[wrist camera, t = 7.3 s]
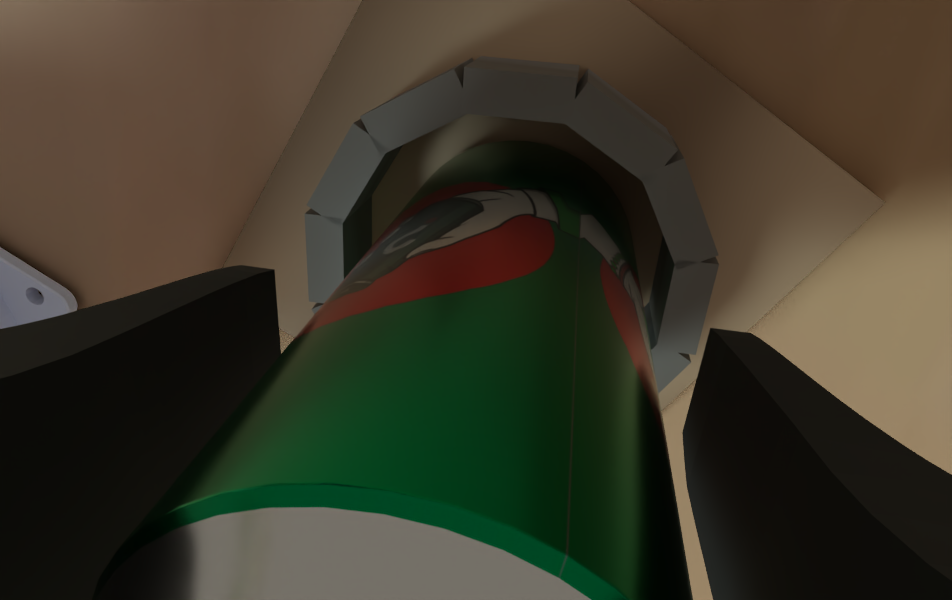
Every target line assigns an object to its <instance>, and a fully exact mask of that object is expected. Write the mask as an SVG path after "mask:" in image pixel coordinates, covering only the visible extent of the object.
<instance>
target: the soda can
mask: <svg viewBox="0 0 952 600" xmlns="http://www.w3.org/2000/svg"><path fill="white" fill-rule="evenodd" d="M92 600H693V598H692V592H691V586H690V580H689V574H688V568H687V562H686V556H685V550H684V544H683V538H682V532H681V526H680V520H679V514H678V508H677V502H676V496H675V490H674V484H673V478H672V472H671V466H670V460H669V454H668V448H667V442H666V436H665V430H664V424H663V418H662V412H661V406H660V400H659V394H658V388H657V382H656V376H655V370H654V364H653V359H652V353H651V347H650V341H649V335H648V329H647V323H646V317H645V311H644V305H643V299H642V293H641V287H640V281H639V275H638V269H637V263H636V257H635V251H634V245H633V239H632V234H631V230H630V225H629V221H628V218H627V216H626V213H625V211H624V209H623V206H622V204H621V202H620V200H619V199H618V197H617V196H616V194H615V193H614V191H613V190H612V188H611V187H610V185H609V184H608V183H607V182H606V181H605V180H604V179H603V178H602V177H601V176H600V174H599V173H598V172H596V171H595V170H594V169H592V168H591V167H590V166H589V165H587V164H586V163H585V162H584V161H582V160H580V159H579V158H577V157H575V156H573V155H571V154H570V153H568V152H566V151H563V150H560V149H558V148H555V147H552V146H550V145H546V144H541V143H536V142H531V141H511V140H509V141H501V142H493V143H488V144H484V145H481V146H478V147H474V148H471V149H469V150H467V151H465V152H463V153H461V154H459V155H457V156H455V157H453V158H452V159H451V160H449V161H448V162H446V163H445V164H444V165H442V166H441V167H440V168H439V169H438V170H437V171H436V172H435V173H434V174H433V175H432V176H431V177H430V178H429V179H428V180H427V181H426V182H425V183H424V184H423V186H422V187H421V188H420V189H419V190H418V192H417V193H416V194H415V195H414V196H413V198H412V199H411V200H410V201H409V202H408V203H407V205H406V206H405V207H404V208H403V209H402V211H401V212H400V213H399V214H398V215H397V217H396V218H395V219H394V220H393V221H392V223H391V224H390V225H389V226H388V227H387V229H386V230H385V231H384V232H383V233H382V235H381V236H380V237H379V238H378V239H377V240H376V242H375V243H374V244H373V245H372V246H371V248H370V249H369V250H368V251H367V252H366V254H365V255H364V256H363V257H362V258H361V260H360V261H359V262H358V263H357V264H356V266H355V267H354V268H353V269H352V270H351V272H350V273H349V274H348V275H347V276H346V277H345V279H344V280H343V281H342V282H341V283H340V285H339V286H338V287H337V288H336V289H335V291H334V292H333V293H332V294H331V295H330V297H329V298H328V299H327V300H326V301H325V303H324V304H323V305H322V306H321V307H320V309H319V310H318V311H317V312H316V313H315V314H314V316H313V317H312V318H311V319H310V320H309V322H308V323H307V324H306V325H305V326H304V328H303V329H302V330H301V331H300V332H299V334H298V335H297V336H296V337H295V338H294V340H293V341H292V342H291V343H290V344H289V345H288V347H287V348H286V349H285V350H284V351H283V353H282V354H281V355H280V356H279V357H278V359H277V360H276V361H275V362H274V363H273V365H272V366H271V367H270V368H269V369H268V371H267V372H266V373H265V374H264V375H263V377H262V378H261V379H260V380H259V381H258V382H257V384H256V385H255V386H254V387H253V388H252V390H251V391H250V392H249V393H248V394H247V396H246V397H245V398H244V399H243V400H242V402H241V403H240V404H239V405H238V406H237V408H236V409H235V410H234V411H233V412H232V414H231V415H230V416H229V417H228V418H227V419H226V421H225V422H224V423H223V424H222V425H221V427H220V428H219V429H218V430H217V431H216V433H215V434H214V435H213V436H212V437H211V439H210V440H209V441H208V442H207V443H206V445H205V446H204V447H203V448H202V449H201V451H200V452H199V453H198V454H197V455H196V456H195V458H194V459H193V460H192V461H191V462H190V464H189V465H188V466H187V467H186V468H185V470H184V471H183V472H182V473H181V474H180V476H179V477H178V478H177V479H176V480H175V482H174V483H173V484H172V485H171V486H170V487H169V489H168V490H167V491H166V492H165V493H164V495H163V496H162V497H161V498H160V499H159V501H158V502H157V503H156V504H155V505H154V507H153V508H152V509H151V510H150V511H149V513H148V514H147V515H146V516H145V517H144V519H143V520H142V521H141V522H140V523H139V524H138V526H137V527H136V528H135V529H134V530H133V532H132V533H131V534H130V535H129V536H128V538H127V539H126V540H125V541H124V542H123V544H122V545H121V546H120V547H119V548H118V550H117V551H116V553H115V554H114V556H113V557H112V559H111V560H110V562H109V563H108V565H107V566H106V568H105V570H104V571H103V573H102V574H101V576H100V577H99V579H98V582H97V585H96V588H95V592H94V595H93V598H92Z"/></svg>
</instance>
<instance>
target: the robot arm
mask: <svg viewBox="0 0 952 600" xmlns="http://www.w3.org/2000/svg"><path fill="white" fill-rule="evenodd" d="M37 289H38V290H39V291H40V292H41V293H42V295H43V296H41V295H40V294H39V292H38V290H37ZM77 306H78V305H77V302H76V299H75V297H74V296H73V294H72V293H71V292H70V291H69V290H67V289H66V288H65V287H63V286H61V285H60V284H58V283H57V282H55V281H54V280H52V279H50V278H49V277H47V276H46V275H44V274H42V273H41V272H39V271H38V270H36V269H34V268H33V267H31V266H30V265H28V264H26V263H25V262H23V261H22V260H20V259H18V258H17V257H15V256H14V255H12V254H10V253H9V252H7V251H6V250H4V249H2V248H1V247H0V600H92V598H93V595H94V592H95V588H96V585H97V582H98V579H99V577H100V576H101V574H102V573H103V571H104V570H105V568H106V566H107V565H108V563H109V562H110V560H111V559H112V557H113V556H114V554H115V553H116V551H117V550H118V548H119V547H120V546H121V545H122V544H123V542H124V541H125V540H126V539H127V538H128V536H129V535H130V534H131V533H132V532H133V530H134V529H135V528H136V527H137V526H138V524H139V523H140V522H141V521H142V520H143V519H144V517H145V516H146V515H147V514H148V513H149V511H150V510H151V509H152V508H153V507H154V505H155V504H156V503H157V502H158V501H159V499H160V498H161V497H162V496H163V495H164V493H165V492H166V491H167V490H168V489H169V487H170V486H171V485H172V484H173V483H174V482H175V480H176V479H177V478H178V477H179V476H180V474H181V473H182V472H183V471H184V470H185V468H186V467H187V466H188V465H189V464H190V462H191V461H192V460H193V459H194V458H195V456H196V455H197V454H198V453H199V452H200V451H201V449H202V448H203V447H204V446H205V445H206V443H207V442H208V441H209V440H210V439H211V437H212V436H213V435H214V434H215V433H216V431H217V430H218V429H219V428H220V427H221V425H222V424H223V423H224V422H225V421H226V419H227V418H228V417H229V416H230V415H231V414H232V412H233V411H234V410H235V409H236V408H237V406H238V405H239V404H240V403H241V402H242V400H243V399H244V398H245V397H246V396H247V394H248V393H249V392H250V391H251V390H252V388H253V387H254V386H255V385H256V384H257V382H258V381H259V380H260V379H261V378H262V377H263V375H264V374H265V373H266V372H267V371H268V369H269V368H270V367H271V366H272V365H273V363H274V362H275V361H276V360H277V359H278V357H279V356H280V355H281V349H280V336H279V322H278V309H277V295H276V282H275V269H267V268H260V267H252V266H245V265H237V266H231V267H225V268H221V269H217V270H213V271H209V272H205V273H202V274H198V275H195V276H192V277H188V278H185V279H182V280H179V281H175V282H172V283H169V284H166V285H162V286H159V287H156V288H153V289H150V290H146V291H143V292H140V293H137V294H133V295H130V296H127V297H124V298H120V299H117V300H113V301H109V302H106V303H102V304H99V305H95V306H92V307H88V308H85V309H81V310H77ZM683 446H684V460H685V471H686V481H687V489H688V493H689V498H690V502H691V507H692V511H693V516H694V520H695V524H696V529H697V533H698V537H699V541H700V546H701V550H702V554H703V558H704V562H705V567H706V571H707V575H708V579H709V584H710V588H711V592H712V596H713V600H952V475H951V474H949V473H947V472H946V471H944V470H942V469H941V468H939V467H937V466H936V465H934V464H932V463H931V462H929V461H927V460H926V459H924V458H923V457H921V456H919V455H918V454H916V453H915V452H913V451H912V450H910V449H908V448H907V447H905V446H904V445H902V444H901V443H899V442H898V441H896V440H895V439H894V438H892V437H891V436H889V435H888V434H886V433H885V432H883V431H882V430H881V429H879V428H878V427H876V426H875V425H873V424H872V423H870V422H869V421H868V420H866V419H865V418H863V417H862V416H861V415H859V414H858V413H856V412H855V411H854V410H852V409H851V408H850V407H848V406H847V405H846V404H844V403H843V402H842V401H840V400H839V399H838V398H836V397H835V396H834V395H832V394H831V393H830V392H828V391H827V390H826V389H825V388H823V387H822V386H821V385H819V384H818V383H817V382H816V381H814V380H813V379H812V378H810V377H809V376H808V375H807V374H805V373H804V372H803V371H802V370H800V369H799V368H798V367H797V366H795V365H794V364H793V363H791V362H790V361H789V360H788V359H786V358H785V357H784V356H783V355H781V354H780V353H779V352H777V351H776V350H775V349H773V348H772V347H771V346H769V345H768V344H767V343H765V342H764V341H762V340H761V339H760V338H758V337H756V336H755V335H753V334H751V333H746V332H739V331H731V330H724V329H716V328H710V331H709V335H708V338H707V342H706V346H705V350H704V353H703V357H702V361H701V365H700V369H699V372H698V376H697V380H696V384H695V387H694V391H693V395H692V399H691V403H690V406H689V410H688V414H687V418H686V421H685V425H684V429H683Z"/></svg>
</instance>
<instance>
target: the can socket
mask: <svg viewBox="0 0 952 600" xmlns="http://www.w3.org/2000/svg"><path fill="white" fill-rule="evenodd" d="M509 140H511V141H531V142H536V143H541V144H546V145H550V146H552V147H555V148H558V149H560V150H563V151H566V152H568V153H570V154H571V155H573V156H575V157H577V158H579V159H580V160H582V161H584V162H585V163H586V164H587V165H589V166H590V167H591V168H592V169H594V170H595V171H596V172H598V173H599V174H600V176H601V177H602V178H603V179H604V180H605V181H606V182H607V183H608V184H609V185H610V187H611V188H612V190H613V191H614V193H615V194H616V196H617V197H618V199H619V200H620V202H621V204H622V206H623V209H624V211H625V213H626V216H627V218H628V221H629V225H630V230H631V234H632V239H633V245H634V251H635V257H636V263H637V269H638V275H639V281H640V287H641V293H642V299H643V305H644V311H645V317H646V323H647V329H648V335H649V341H650V347H651V353H652V359H653V364H654V370H655V376H656V382H657V388H658V394H659V400H660V406H661V411H662V410H663V409H664V408H665V407H666V406H667V405H668V404H669V403H671V402H672V401H673V400H674V399H675V398H676V397H677V396H678V395H679V394H680V393H681V392H682V391H683V390H685V389H686V388H687V387H688V386H689V385H690V384H691V383H692V382H693V381H694V380H695V379H696V378H697V376H698V372H699V369H700V365H701V361H702V357H703V353H704V350H705V346H706V342H707V338H708V335H709V331H710V328H716V329H724V330H731V331H739V332H747V331H748V330H749V329H750V328H751V327H752V326H753V325H754V324H755V323H757V322H758V321H759V320H760V319H761V318H762V317H763V316H764V315H765V314H766V313H767V312H768V311H769V310H771V309H772V308H773V307H774V306H775V305H776V304H777V303H778V302H779V301H780V300H781V299H782V298H783V297H785V296H786V295H787V294H788V293H789V292H790V291H791V290H792V289H793V288H794V287H795V286H796V285H797V284H799V283H800V282H801V281H802V280H803V279H804V278H805V277H806V276H807V275H808V274H809V273H810V272H811V271H812V270H814V269H815V268H816V267H817V266H818V265H819V264H820V263H821V262H822V261H823V260H824V259H825V258H826V257H828V256H829V255H830V254H831V253H832V252H833V251H834V250H835V249H836V248H837V247H838V246H839V245H840V244H842V243H843V242H844V241H845V240H846V239H847V238H848V237H849V236H850V235H851V234H852V233H853V232H854V231H856V230H857V229H858V228H859V227H860V226H861V225H862V224H863V223H864V222H865V221H866V220H867V219H868V218H869V217H871V216H872V215H873V214H874V213H875V212H876V211H877V210H878V209H879V208H880V207H881V206H882V205H883V204H885V202H884V201H883V200H882V199H880V198H879V197H878V196H876V195H875V194H874V193H873V192H871V191H870V190H869V189H868V188H866V187H865V186H864V185H862V184H861V183H860V182H859V181H857V180H856V179H855V178H854V177H852V176H851V175H850V174H848V173H847V172H846V171H845V170H843V169H842V168H841V167H840V166H838V165H837V164H836V163H834V162H833V161H832V160H831V159H829V158H828V157H827V156H826V155H824V154H823V153H822V152H821V151H819V150H818V149H817V148H815V147H814V146H813V145H812V144H810V143H809V142H808V141H807V140H805V139H804V138H803V137H801V136H800V135H799V134H798V133H796V132H795V131H794V130H793V129H791V128H790V127H789V126H787V125H786V124H785V123H784V122H782V121H781V120H780V119H779V118H777V117H776V116H775V115H773V114H772V113H771V112H770V111H768V110H767V109H766V108H765V107H763V106H762V105H761V104H760V103H758V102H757V101H756V100H754V99H753V98H752V97H751V96H749V95H748V94H747V93H746V92H744V91H743V90H742V89H740V88H739V87H738V86H737V85H735V84H734V83H733V82H732V81H730V80H729V79H728V78H726V77H725V76H724V75H723V74H721V73H720V72H719V71H718V70H716V69H715V68H714V67H712V66H711V65H710V64H709V63H707V62H706V61H705V60H704V59H702V58H701V57H700V56H698V55H697V54H696V53H695V52H693V51H692V50H691V49H690V48H688V47H687V46H686V45H685V44H683V43H682V42H681V41H679V40H678V39H677V38H676V37H674V36H673V35H672V34H671V33H669V32H668V31H667V30H665V29H664V28H663V27H662V26H660V25H659V24H658V23H657V22H655V21H654V20H653V19H651V18H650V17H649V16H648V15H646V14H645V13H644V12H643V11H641V10H640V9H639V8H637V7H636V6H635V5H634V4H632V3H631V2H630V1H629V0H362V2H361V4H360V6H359V8H358V10H357V12H356V14H355V16H354V18H353V19H352V21H351V23H350V25H349V27H348V29H347V31H346V33H345V35H344V37H343V39H342V40H341V42H340V44H339V46H338V48H337V50H336V52H335V54H334V56H333V58H332V60H331V62H330V63H329V65H328V67H327V69H326V71H325V73H324V75H323V77H322V79H321V81H320V83H319V84H318V86H317V88H316V90H315V92H314V94H313V96H312V98H311V100H310V102H309V104H308V105H307V107H306V109H305V111H304V113H303V115H302V117H301V119H300V121H299V123H298V125H297V126H296V128H295V130H294V132H293V134H292V136H291V138H290V140H289V142H288V144H287V146H286V147H285V149H284V151H283V153H282V155H281V157H280V159H279V161H278V163H277V165H276V167H275V168H274V170H273V172H272V174H271V176H270V178H269V180H268V182H267V184H266V186H265V188H264V189H263V191H262V193H261V195H260V197H259V199H258V201H257V203H256V205H255V207H254V209H253V210H252V212H251V214H250V216H249V218H248V220H247V222H246V224H245V226H244V228H243V230H242V231H241V233H240V235H239V237H238V239H237V241H236V243H235V245H234V247H233V249H232V251H231V253H230V254H229V256H228V258H227V260H226V262H225V264H224V266H223V268H225V267H231V266H237V265H245V266H252V267H260V268H267V269H275V282H276V295H277V309H278V322H279V328H280V329H281V330H283V331H285V332H286V333H288V334H289V335H291V336H292V337H294V338H295V337H296V336H297V335H298V334H299V332H300V331H301V330H302V329H303V328H304V326H305V325H306V324H307V323H308V322H309V320H310V319H311V318H312V317H313V316H314V314H315V313H316V312H317V311H318V310H319V309H320V307H321V306H322V305H323V304H324V303H325V301H326V300H327V299H328V298H329V297H330V295H331V294H332V293H333V292H334V291H335V289H336V288H337V287H338V286H339V285H340V283H341V282H342V281H343V280H344V279H345V277H346V276H347V275H348V274H349V273H350V272H351V270H352V269H353V268H354V267H355V266H356V264H357V263H358V262H359V261H360V260H361V258H362V257H363V256H364V255H365V254H366V252H367V251H368V250H369V249H370V248H371V246H372V245H373V244H374V243H375V242H376V240H377V239H378V238H379V237H380V236H381V235H382V233H383V232H384V231H385V230H386V229H387V227H388V226H389V225H390V224H391V223H392V221H393V220H394V219H395V218H396V217H397V215H398V214H399V213H400V212H401V211H402V209H403V208H404V207H405V206H406V205H407V203H408V202H409V201H410V200H411V199H412V198H413V196H414V195H415V194H416V193H417V192H418V190H419V189H420V188H421V187H422V186H423V184H424V183H425V182H426V181H427V180H428V179H429V178H430V177H431V176H432V175H433V174H434V173H435V172H436V171H437V170H438V169H439V168H440V167H441V166H442V165H444V164H445V163H446V162H448V161H449V160H451V159H452V158H453V157H455V156H457V155H459V154H461V153H463V152H465V151H467V150H469V149H471V148H474V147H478V146H481V145H484V144H488V143H493V142H501V141H509Z"/></svg>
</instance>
